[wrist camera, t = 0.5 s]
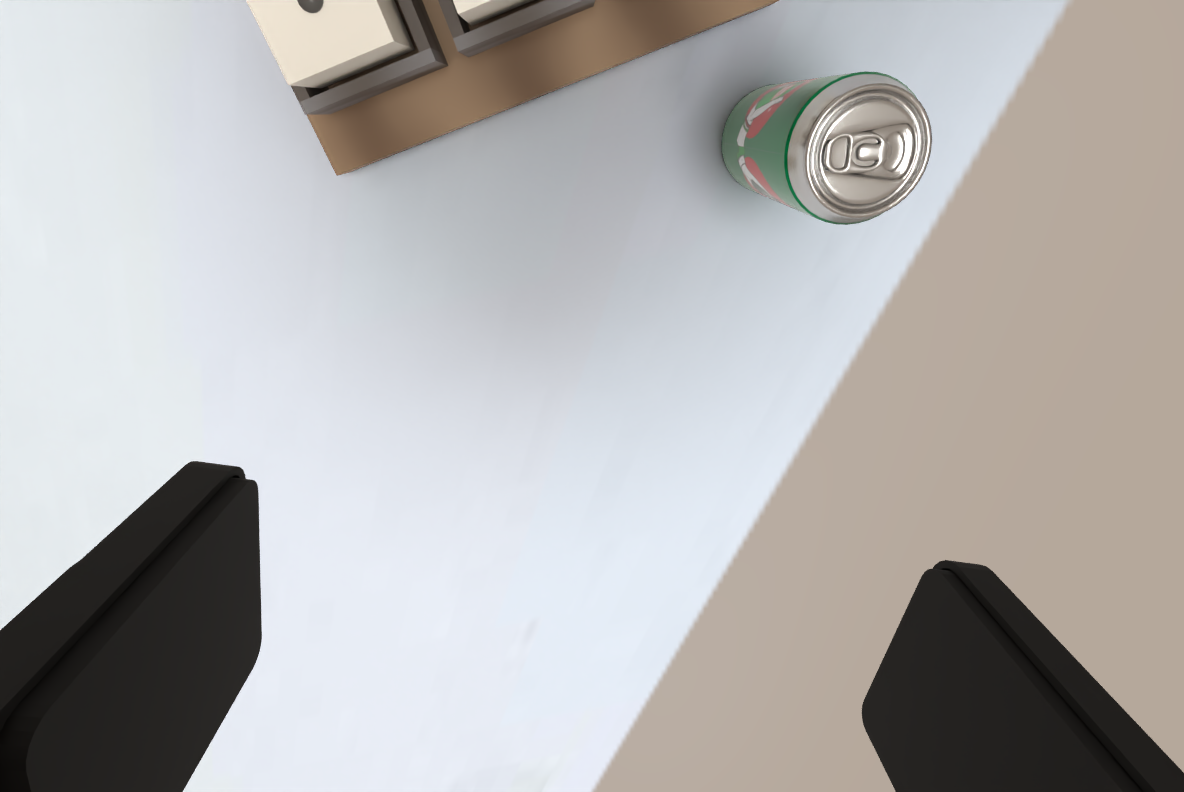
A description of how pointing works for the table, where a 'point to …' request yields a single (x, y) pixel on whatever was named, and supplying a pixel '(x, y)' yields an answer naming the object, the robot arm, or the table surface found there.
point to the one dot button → (330, 37)
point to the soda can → (830, 144)
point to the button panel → (491, 66)
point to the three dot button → (484, 8)
